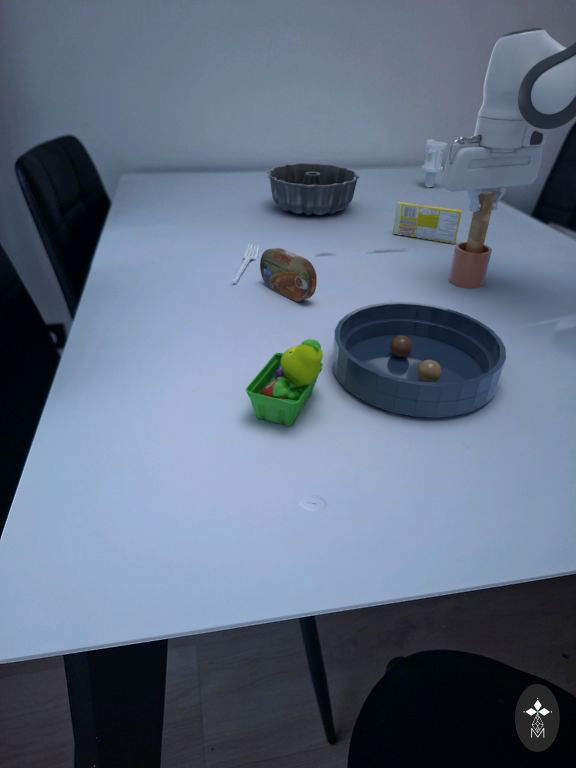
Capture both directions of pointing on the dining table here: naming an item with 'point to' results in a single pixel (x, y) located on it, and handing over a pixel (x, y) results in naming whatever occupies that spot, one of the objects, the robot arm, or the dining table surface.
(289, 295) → the tin
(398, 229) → the candy box
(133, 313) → the dining table surface
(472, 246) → the stirring stick
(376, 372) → the round cake pan
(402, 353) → the bead
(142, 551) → the dining table surface
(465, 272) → the pot
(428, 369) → the bead
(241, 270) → the fork
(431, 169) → the white tall piece
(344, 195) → the bundt pan
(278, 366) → the fruit basket
